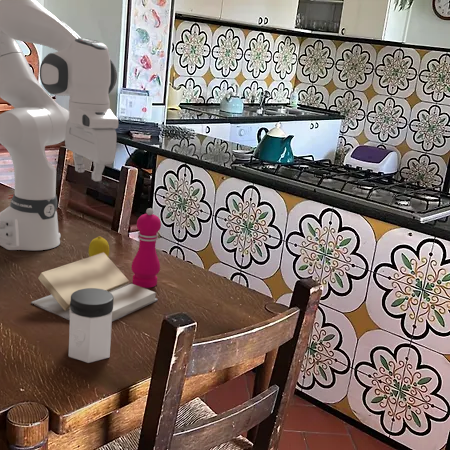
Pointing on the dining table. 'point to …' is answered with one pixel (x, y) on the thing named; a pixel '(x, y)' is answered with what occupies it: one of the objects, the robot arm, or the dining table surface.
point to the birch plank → (82, 278)
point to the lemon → (98, 246)
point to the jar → (90, 324)
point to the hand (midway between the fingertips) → (88, 176)
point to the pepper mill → (146, 251)
